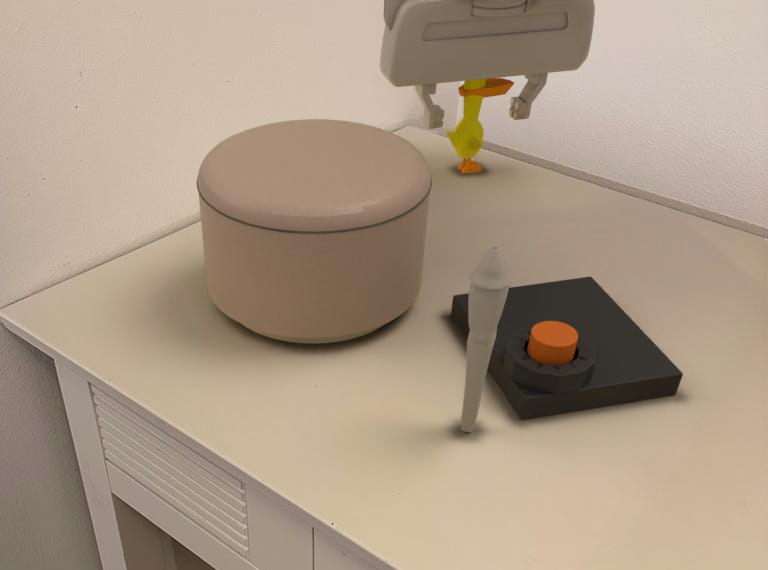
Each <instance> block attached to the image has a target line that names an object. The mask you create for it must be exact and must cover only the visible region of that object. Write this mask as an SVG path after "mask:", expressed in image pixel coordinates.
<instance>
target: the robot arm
mask: <svg viewBox="0 0 768 570" xmlns="http://www.w3.org/2000/svg"><path fill="white" fill-rule="evenodd" d="M595 6H596V5H595V1H594V0H383V21H384V24H385V26H384V31H383V35H382V42H381V47H380V48H381V49H380V57H379V70H380V72H381V73H382V75H383V77H384V78H385V79H386V80H387V82H389V83H390V84H391V86H394V87H395V88H403V87H414V90H415V92H416V94H417V96H418V98H419V101H420V102H421V104H422V106H423V118H422V121H423V122H422V123H423V126H424V127H425V128H426V129H427V130H432V129H439V128H440V129H441V128H443V126H444V121H443V120H444V118H445V117H444V116H445V110H444V108H442V107H441V106H440V105H439V104H434V102H433V100H432V97H431V96H433V95H434V96H435V95H436V94H437V93H436V92H437V85H438V84H445V83H446V84H447V83H455V82H464V81H468V80H478V79H489V78H508V77H518V76H524V78H525V79H526V80H527V82H526V83H525V84H524V87H523V88H522V90H521V92H520V93H519V95H518V96H512V97H511V98H510V102H509V103H510V107H509V109H508V115H509V117H510V118H512V119H513V120H514V121H518V120H519V121H520V120H528V119H530V116H531V110H532V104H533V102H534V101H535V100H536V98H538V96H539V95H540V93H541V92H542V90H543V89H544V88H545V86H546V85H547V80H548V76H549V74H550V73H561V72H571V71H577V70H579V69H580V67H582V65H583V64H584V62H585V61H586V60H587V59H588V56H589V53H590V49H591V45H592V39H593V31H594V23H595V15H596V14H595V13H596V7H595ZM430 95H431V96H430Z"/></svg>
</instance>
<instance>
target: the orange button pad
mask: <svg viewBox="0 0 768 570" xmlns="http://www.w3.org/2000/svg"><path fill="white" fill-rule="evenodd" d="M468 298H469V292H468V293H460V294H453V295H452V303H451V308H450V309H451V311H450V316H451V318H452V319H453V321H454V322H455V325H457V327H458V328H459V330H460V332H461V333H462V334H463V336H464V338H465V339H466V341H467V340H468V336H469V332H470V328H469V317H468ZM544 321H558V322H562V323H565V324H568V325H570V326H571V327H573V328H574V329H575V330H576V331H577V333H578V341H577V345H576V349H575V353H574V357H573V360H572V361H571V362H570V363H568V364H562V365H551V364H544V363H540V362H538V361H536V360H534V359H532V358H530V357H529V355H528V352H527V349H528V344H529V339H530V334H531V330H532V328H533V326H534V325H536V324H538V323H540V322H544ZM487 372H488V374H490V376H491V378H492V379H493V380H494V382H495V383H496V385H497V387H498V388H499V389H500V391H501V392H502V393H503V395H504V397H505V398H506V400H507V401H508V403H509V404H510V405H511V407H512V409H513V410H514V411H515V413H516V415H517V416H518V418H519V420H527V419H535V418H541V417H547V416H554V415H559V414H567V413H572V412H578V411H584V410H591V409H597V408H601V407H608V406H614V405H619V404H627V403H633V402H640V401H646V400H652V399H658V398H664V397H670V396H676V395H677V393H678V390H679V387H680V383H681V381H682V378H683V375H684V373H683V372H682V371H681V369H680V368H678V366H677V365H676V364H675V363H674V362H673V361H672V360H671V359H670V358H669V357H668V356H667V355H666V354H665V353H664V352H663V351H662V350H661V349H660V348H659V346H657V344H655V342H654V341H653V340H652V339H651V338H650V336H648V335H647V334H646V333H645V331H643V330H642V328H640V326H639V325H638V324H637V323H635V321H634V320H633V319H632V318H631V317H630V316H629V314H627V312H625V310H623V308H622V307H621V306H620V305H619V304H618V303H617V302H616V301H615V300H614V299H613V298H612V297H611V296H610V295H609V293H607V292H606V290H605V289H603V287H602V286H601V285H600V284H599V283H598V282H597V281H596V280H595V278H593V277H592V276H583V277H577V278H576V277H575V278H569V279H568V278H567V279H561V280H555V281H547V282H540V283H534V284H533V283H531V284H525V285H518V286H511V287H510V286H509V290H508V294H507V298H506V301H505V305H504V308H503V311H502V314H501V317H500V320H499V322H498V325H497V332H496V339H495V342H494V346H493V349H492V353H491V356H490V360H489V364H488V368H487Z"/></svg>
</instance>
